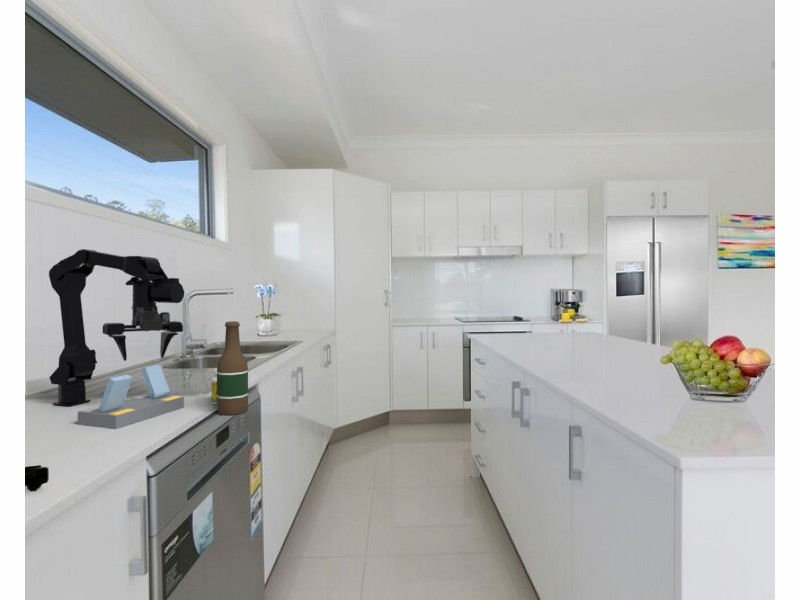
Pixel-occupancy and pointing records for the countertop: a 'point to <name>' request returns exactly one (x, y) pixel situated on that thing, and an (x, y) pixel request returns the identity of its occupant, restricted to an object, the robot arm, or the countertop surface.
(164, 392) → the panel
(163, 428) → the countertop surface
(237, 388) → the beer bottle
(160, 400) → the switch panel
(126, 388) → the upright blue panel
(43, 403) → the countertop surface
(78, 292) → the robot arm
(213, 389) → the supplement bottle
